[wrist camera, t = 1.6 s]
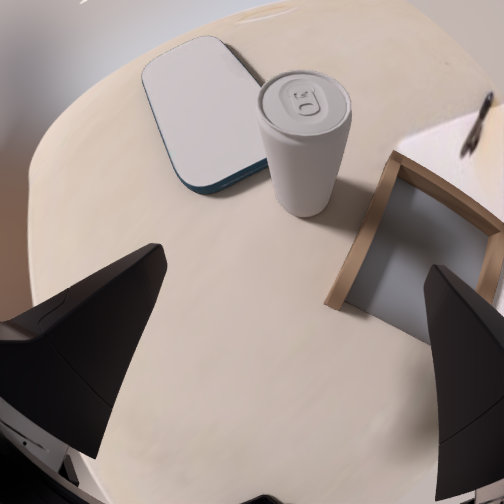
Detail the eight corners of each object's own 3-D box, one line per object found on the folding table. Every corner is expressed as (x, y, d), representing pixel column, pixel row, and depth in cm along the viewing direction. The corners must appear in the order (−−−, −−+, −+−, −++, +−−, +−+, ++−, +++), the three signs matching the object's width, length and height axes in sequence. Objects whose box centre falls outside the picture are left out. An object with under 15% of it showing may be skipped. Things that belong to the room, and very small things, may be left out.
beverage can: (322, 163, 23) (333, 63, 11) (337, 213, 22) (369, 130, 10) (270, 174, 24) (245, 77, 12) (281, 224, 23) (264, 148, 11)
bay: (450, 368, 18) (463, 373, 15) (323, 303, 21) (326, 304, 19) (494, 233, 19) (508, 227, 16) (385, 163, 22) (393, 150, 20)
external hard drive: (142, 76, 30) (136, 68, 28) (216, 40, 29) (212, 30, 28) (193, 209, 25) (185, 201, 23) (305, 153, 24) (305, 142, 22)
